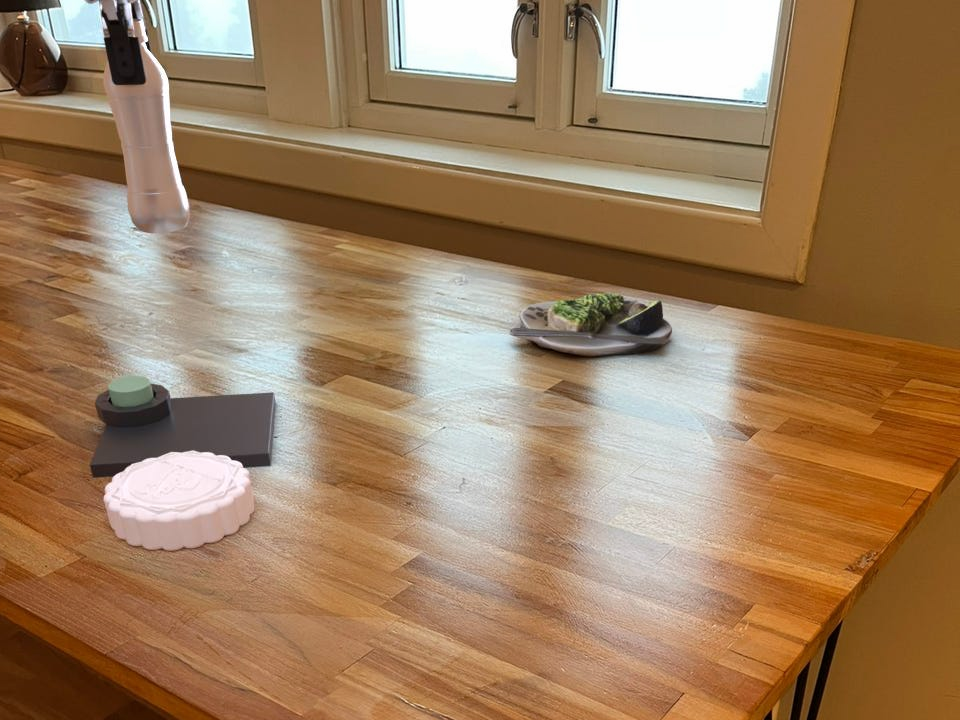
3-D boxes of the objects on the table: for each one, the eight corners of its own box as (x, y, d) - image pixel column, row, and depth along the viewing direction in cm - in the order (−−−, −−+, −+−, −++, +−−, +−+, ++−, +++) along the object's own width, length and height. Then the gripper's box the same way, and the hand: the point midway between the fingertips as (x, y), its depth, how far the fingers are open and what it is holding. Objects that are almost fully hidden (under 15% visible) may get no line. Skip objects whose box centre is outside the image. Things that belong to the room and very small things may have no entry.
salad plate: (530, 373, 107) (531, 332, 104) (487, 319, 120) (487, 281, 117) (691, 355, 111) (696, 315, 108) (631, 305, 124) (635, 268, 121)
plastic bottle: (120, 236, 106) (74, 22, 94) (160, 221, 111) (121, 16, 99) (167, 243, 104) (126, 25, 92) (205, 227, 109) (171, 18, 97)
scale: (82, 479, 88) (73, 449, 86) (109, 412, 99) (102, 385, 97) (270, 466, 89) (266, 437, 88) (276, 402, 101) (272, 375, 99)
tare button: (108, 410, 93) (104, 393, 92) (115, 393, 96) (111, 376, 95) (151, 407, 94) (147, 390, 93) (156, 391, 97) (152, 374, 96)
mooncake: (80, 527, 81) (69, 489, 79) (184, 470, 89) (177, 434, 87) (183, 568, 76) (174, 528, 74) (284, 503, 84) (278, 466, 82)
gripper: (66, -143, 94) (109, 68, 105) (28, -151, 80) (82, 93, 91) (145, -143, 95) (179, 67, 106) (121, -150, 81) (163, 91, 92)
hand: (134, 77), depth 99 cm, fingers closed on plastic bottle, 6 cm apart
